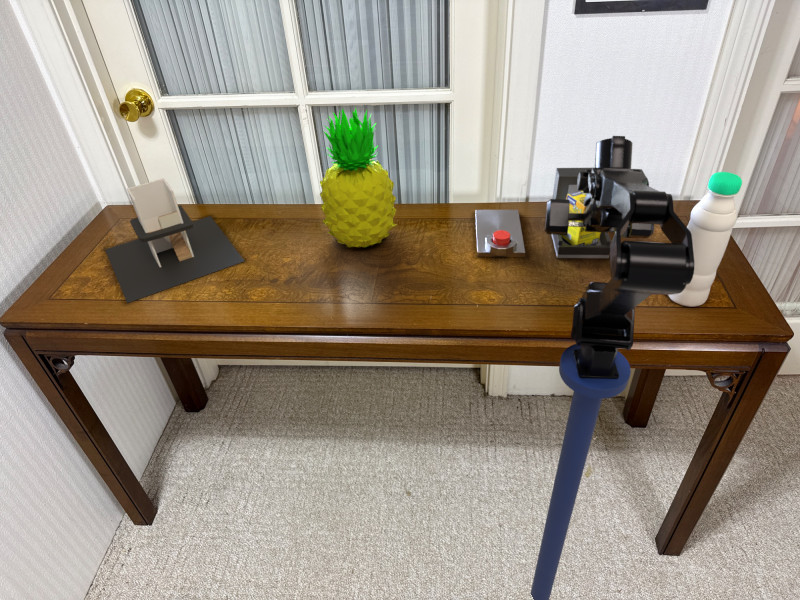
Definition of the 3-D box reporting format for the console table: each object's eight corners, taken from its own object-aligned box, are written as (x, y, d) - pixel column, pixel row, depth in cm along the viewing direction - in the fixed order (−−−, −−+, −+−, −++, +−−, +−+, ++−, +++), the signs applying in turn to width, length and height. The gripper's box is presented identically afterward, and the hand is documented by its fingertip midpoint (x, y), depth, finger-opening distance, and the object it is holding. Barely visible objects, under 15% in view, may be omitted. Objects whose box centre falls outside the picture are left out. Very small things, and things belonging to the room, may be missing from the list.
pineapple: (320, 260, 123) (298, 126, 104) (329, 220, 136) (311, 95, 117) (396, 258, 122) (388, 123, 103) (399, 218, 135) (391, 92, 116)
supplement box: (576, 252, 119) (584, 206, 113) (559, 238, 124) (566, 193, 117) (599, 244, 121) (608, 199, 114) (581, 231, 125) (589, 187, 119)
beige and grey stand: (127, 303, 114) (96, 234, 104) (104, 249, 131) (76, 185, 120) (244, 261, 124) (227, 194, 114) (210, 216, 140) (192, 154, 130)
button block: (525, 260, 119) (526, 248, 117) (477, 260, 120) (478, 248, 118) (517, 214, 134) (518, 202, 132) (475, 214, 135) (475, 203, 133)
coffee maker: (608, 258, 118) (621, 198, 110) (557, 258, 119) (566, 199, 111) (596, 224, 129) (607, 167, 120) (548, 223, 130) (556, 167, 121)
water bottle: (704, 288, 109) (748, 169, 94) (707, 311, 104) (754, 188, 88) (665, 282, 111) (702, 164, 96) (666, 304, 106) (704, 183, 90)
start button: (510, 246, 119) (510, 239, 118) (493, 246, 119) (493, 239, 118) (509, 237, 122) (509, 230, 121) (492, 237, 122) (492, 230, 121)
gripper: (666, 163, 95) (641, 191, 111) (553, 160, 98) (543, 187, 114) (664, 227, 94) (639, 247, 110) (549, 222, 97) (540, 242, 113)
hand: (590, 229), depth 111 cm, fingers open, 9 cm apart
